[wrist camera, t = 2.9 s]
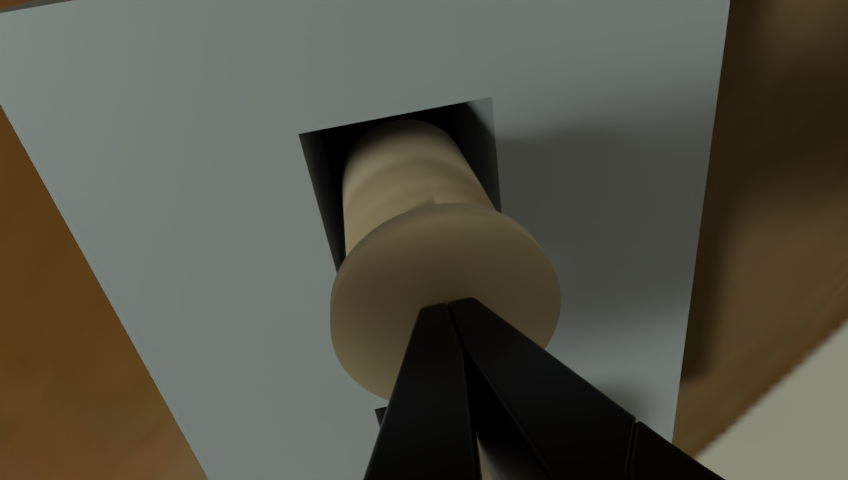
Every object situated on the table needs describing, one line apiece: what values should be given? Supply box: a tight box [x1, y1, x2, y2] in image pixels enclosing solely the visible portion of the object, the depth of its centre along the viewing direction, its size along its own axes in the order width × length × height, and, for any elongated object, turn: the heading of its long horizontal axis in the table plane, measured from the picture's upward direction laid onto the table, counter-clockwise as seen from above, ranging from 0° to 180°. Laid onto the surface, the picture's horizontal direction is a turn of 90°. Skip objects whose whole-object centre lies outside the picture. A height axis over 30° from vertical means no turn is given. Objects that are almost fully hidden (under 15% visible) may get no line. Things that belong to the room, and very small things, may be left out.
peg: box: [330, 119, 561, 400], centre depth 11 cm, size 4×4×6 cm
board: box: [0, 0, 730, 480], centre depth 16 cm, size 18×14×5 cm
